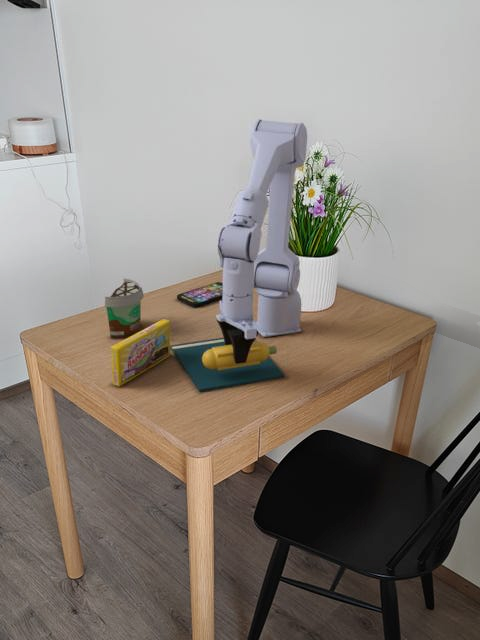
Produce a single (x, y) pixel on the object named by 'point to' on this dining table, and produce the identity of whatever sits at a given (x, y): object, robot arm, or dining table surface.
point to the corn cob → (225, 358)
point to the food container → (124, 309)
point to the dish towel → (224, 378)
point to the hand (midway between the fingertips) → (236, 357)
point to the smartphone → (202, 294)
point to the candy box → (140, 352)
